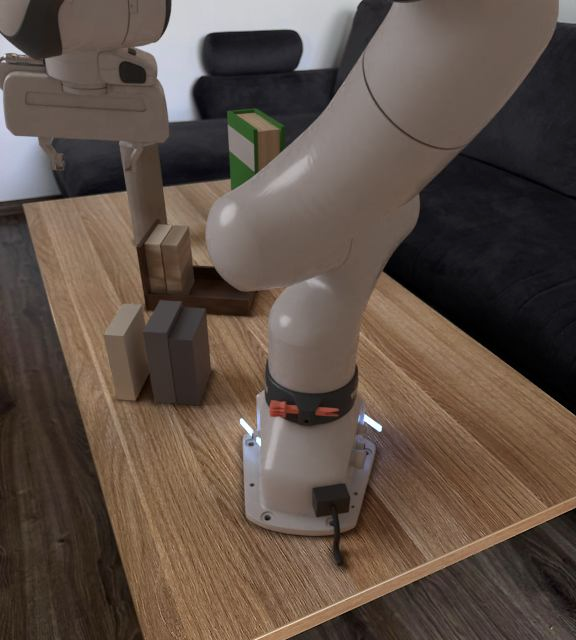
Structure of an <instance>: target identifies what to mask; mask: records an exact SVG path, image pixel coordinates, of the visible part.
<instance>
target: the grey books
mask: <svg viewBox="0 0 576 640" xmlns="http://www.w3.org/2000/svg"><path fill="white" fill-rule="evenodd" d="M143 336H144V342H145V348H146V354H147V360H148V366H149V372H150V373H149V377H150V383H151V390H152V395H153V401H154V403H161V404H162V403H163V404H177V405H188V406H189V405H190V406H200V405H201V402H202V399H203V396H204V393H205V391H206V387H207V385H208V382H209V379H210V376H211V373H212V361H211V352H210V341H209V340H210V339H209V329H208V318H207V314H206V308H190V307H183V305H182V301H166V300H160V301H159V303H158V305H157V307H156V308H155V310H153V312H152V314H151V315H150V317H149V319H148V321H147V323H146V324H145V328H144V330H143Z"/></svg>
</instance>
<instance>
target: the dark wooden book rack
mask: <svg viewBox="0 0 576 640" xmlns="http://www.w3.org/2000/svg"><path fill="white" fill-rule="evenodd" d="M135 250H136V255H137V260H138V267H139V268H138V269H139V273H140V278H141V280H140V281H141V286H142V292H143V299H144V305H145V311H154V310H155V308H156V307H157V305H158V303H159V301H160V300H166V301H182V305H183V307H190V308H206V315H219V316H237V317H250V313H251V311H252V308H253V304H254V301H255V298H256V295H257V291H248V292H244V291H240V290H238V289H236V288H235V287H233V286H231V285H230V284H229V283H228V282H226V281H225V280H224V279H223V278H222V277H221V276H220V274H219V273H218V272H217V270H216V269H215V267H214V266H213V265H197V264H193V253H192V243H191V233H190V226H189V225H177V224H175V225H174V224H168V225H161V222H160V219H156V220H155V222H154V223H153V225H152V226H151V227H150V229H149V230H148V232H147V233H146V234H145V236H144V237H143V238H142V240H141V241H140V243H139V244H138V245H137V244H136V247H135Z"/></svg>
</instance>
